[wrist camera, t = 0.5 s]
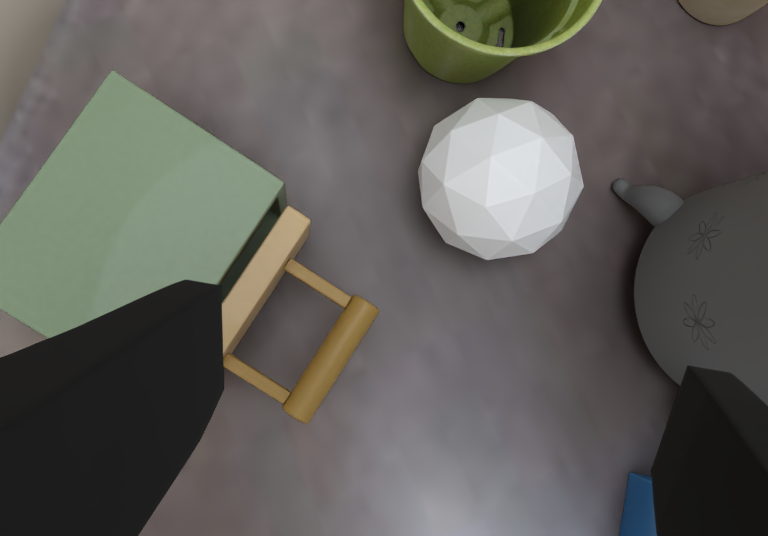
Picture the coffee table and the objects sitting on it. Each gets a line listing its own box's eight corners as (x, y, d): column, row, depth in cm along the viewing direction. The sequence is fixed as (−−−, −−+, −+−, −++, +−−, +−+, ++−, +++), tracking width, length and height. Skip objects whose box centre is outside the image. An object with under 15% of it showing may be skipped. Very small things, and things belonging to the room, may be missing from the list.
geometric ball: (438, 174, 40) (428, 56, 34) (582, 188, 38) (599, 64, 32) (407, 279, 36) (389, 165, 30) (568, 301, 34) (585, 183, 28)
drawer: (387, 285, 36) (405, 280, 30) (290, 438, 35) (288, 464, 29) (186, 155, 35) (162, 122, 29) (80, 307, 34) (33, 306, 28)
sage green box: (288, 209, 36) (285, 182, 29) (175, 377, 35) (141, 396, 27) (151, 120, 36) (112, 69, 28) (32, 289, 34) (-43, 283, 27)
